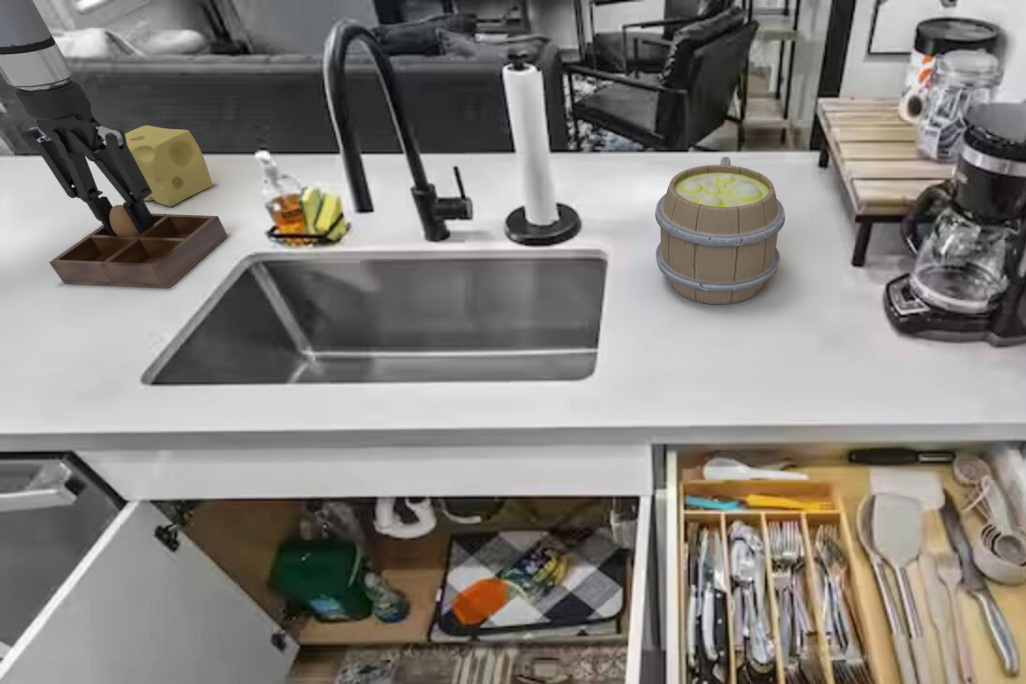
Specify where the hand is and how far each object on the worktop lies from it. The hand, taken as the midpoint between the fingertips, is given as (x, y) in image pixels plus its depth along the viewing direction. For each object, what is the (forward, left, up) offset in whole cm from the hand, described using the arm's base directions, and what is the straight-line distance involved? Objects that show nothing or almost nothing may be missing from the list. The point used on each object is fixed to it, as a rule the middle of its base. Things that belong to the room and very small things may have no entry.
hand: (137, 239), depth 108 cm
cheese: (-7, +20, -1) cm, 21 cm away
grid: (+4, -4, -1) cm, 6 cm away
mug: (+94, 0, -1) cm, 94 cm away
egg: (0, 0, 0) cm, 0 cm away
